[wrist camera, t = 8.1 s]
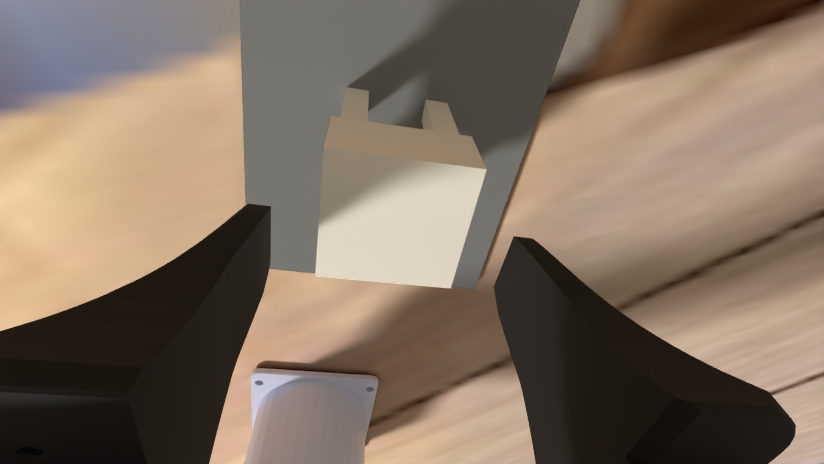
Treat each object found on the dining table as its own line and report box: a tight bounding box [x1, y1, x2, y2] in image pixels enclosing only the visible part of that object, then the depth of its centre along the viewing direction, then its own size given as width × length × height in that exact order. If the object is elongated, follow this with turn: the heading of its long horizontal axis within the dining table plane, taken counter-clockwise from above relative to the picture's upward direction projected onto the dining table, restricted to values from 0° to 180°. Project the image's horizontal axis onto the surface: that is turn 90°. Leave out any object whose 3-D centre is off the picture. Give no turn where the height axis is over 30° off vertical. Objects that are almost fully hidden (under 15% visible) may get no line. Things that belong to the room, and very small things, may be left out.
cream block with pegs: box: [315, 87, 487, 288], centre depth 16 cm, size 5×5×6 cm
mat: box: [240, 0, 580, 290], centre depth 19 cm, size 15×12×1 cm
